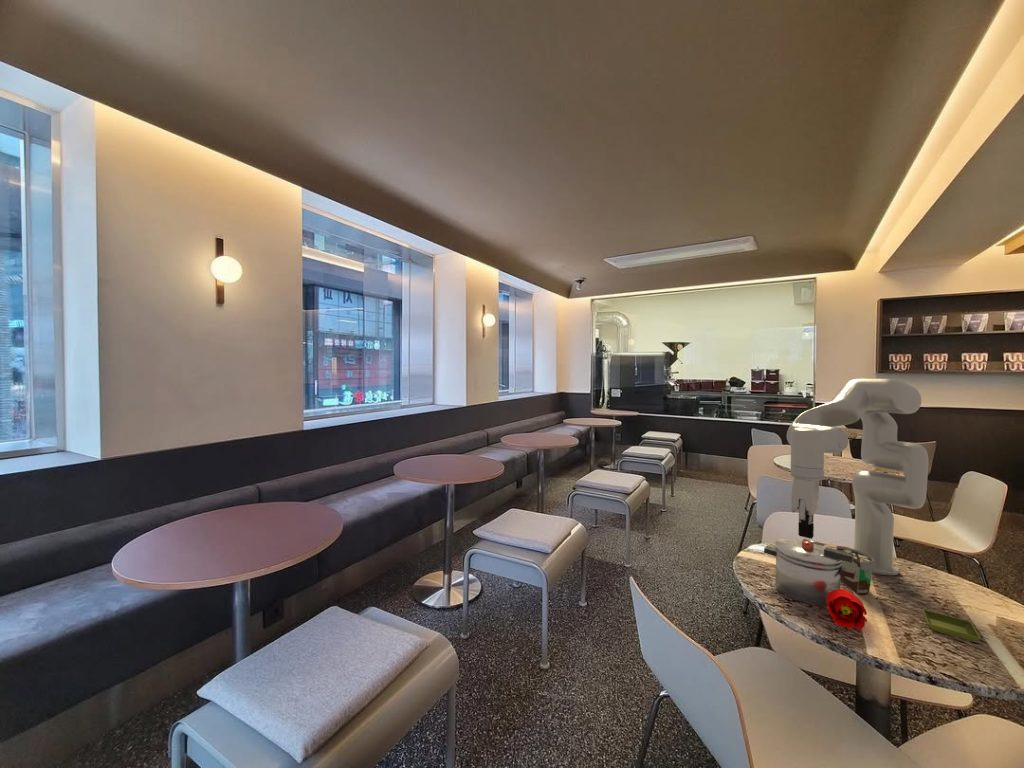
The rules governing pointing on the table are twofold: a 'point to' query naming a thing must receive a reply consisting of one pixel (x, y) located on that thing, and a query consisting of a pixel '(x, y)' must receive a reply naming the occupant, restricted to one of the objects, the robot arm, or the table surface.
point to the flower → (846, 609)
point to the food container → (858, 571)
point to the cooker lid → (812, 552)
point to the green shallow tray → (951, 625)
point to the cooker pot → (806, 578)
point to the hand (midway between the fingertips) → (805, 536)
